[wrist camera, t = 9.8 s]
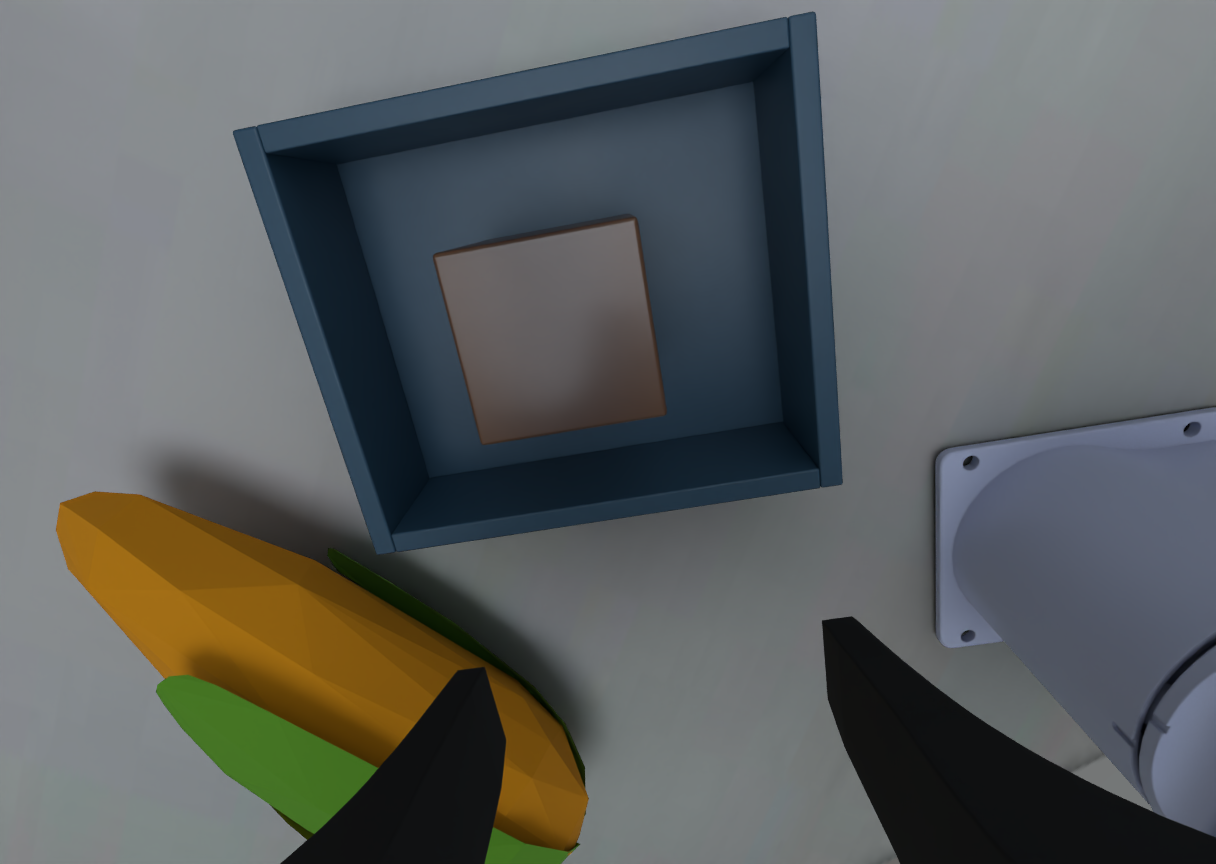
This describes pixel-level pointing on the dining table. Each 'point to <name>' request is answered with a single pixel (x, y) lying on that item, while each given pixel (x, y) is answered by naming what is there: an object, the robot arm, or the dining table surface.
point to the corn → (308, 668)
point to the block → (554, 329)
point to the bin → (551, 197)
